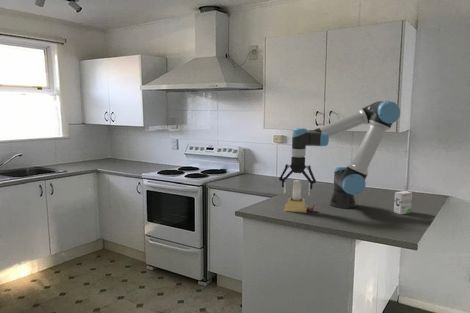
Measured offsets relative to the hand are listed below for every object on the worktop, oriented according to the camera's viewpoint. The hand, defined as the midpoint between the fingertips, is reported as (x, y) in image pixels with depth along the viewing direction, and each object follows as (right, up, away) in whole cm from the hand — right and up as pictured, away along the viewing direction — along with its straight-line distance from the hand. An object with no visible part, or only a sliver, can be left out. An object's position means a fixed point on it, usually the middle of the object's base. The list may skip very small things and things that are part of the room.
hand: (296, 194), depth 208 cm
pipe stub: (0, -7, +1) cm, 7 cm away
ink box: (+59, -11, +1) cm, 60 cm away
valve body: (+2, -9, +1) cm, 9 cm away
